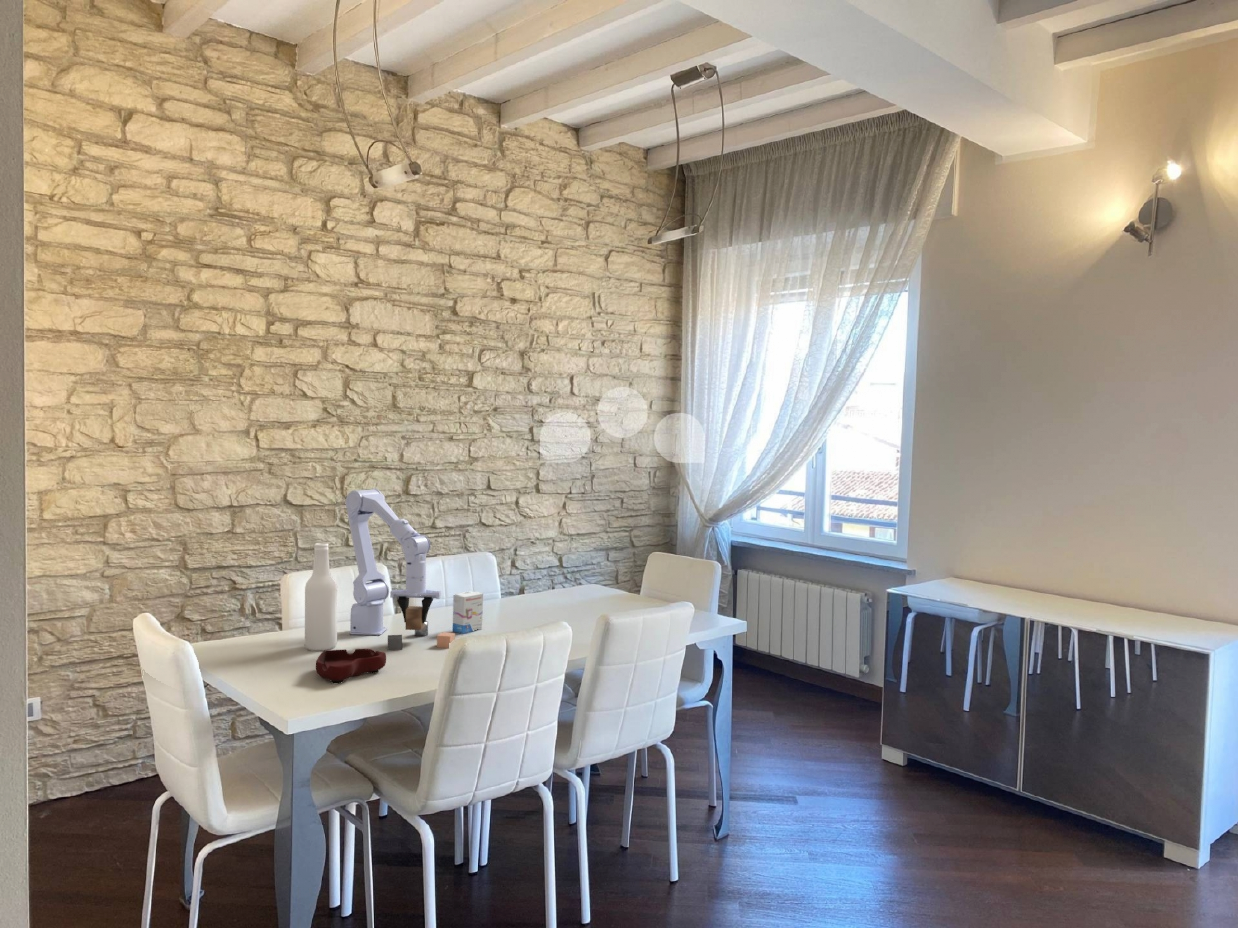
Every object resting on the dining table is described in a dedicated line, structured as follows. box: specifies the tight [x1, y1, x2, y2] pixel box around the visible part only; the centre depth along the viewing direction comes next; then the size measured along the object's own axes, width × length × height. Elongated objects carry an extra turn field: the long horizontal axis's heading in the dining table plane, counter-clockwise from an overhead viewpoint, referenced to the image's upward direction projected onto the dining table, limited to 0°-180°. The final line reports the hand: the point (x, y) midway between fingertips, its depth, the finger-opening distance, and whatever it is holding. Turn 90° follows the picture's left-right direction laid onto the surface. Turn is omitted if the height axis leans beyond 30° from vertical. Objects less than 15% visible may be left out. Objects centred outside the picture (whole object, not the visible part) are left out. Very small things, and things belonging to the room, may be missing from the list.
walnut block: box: [405, 605, 425, 631], centre depth 263 cm, size 5×5×6 cm
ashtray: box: [315, 648, 387, 684], centre depth 230 cm, size 18×16×5 cm
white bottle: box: [304, 542, 338, 652], centre depth 254 cm, size 9×9×30 cm
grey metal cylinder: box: [414, 620, 429, 638], centre depth 272 cm, size 4×4×4 cm
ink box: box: [452, 590, 484, 634], centre depth 278 cm, size 9×5×12 cm, turn 143°
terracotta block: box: [436, 631, 456, 649], centre depth 260 cm, size 4×4×4 cm
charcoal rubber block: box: [387, 634, 403, 651], centre depth 256 cm, size 4×4×4 cm
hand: (415, 621), depth 264 cm, fingers closed on walnut block, 5 cm apart
